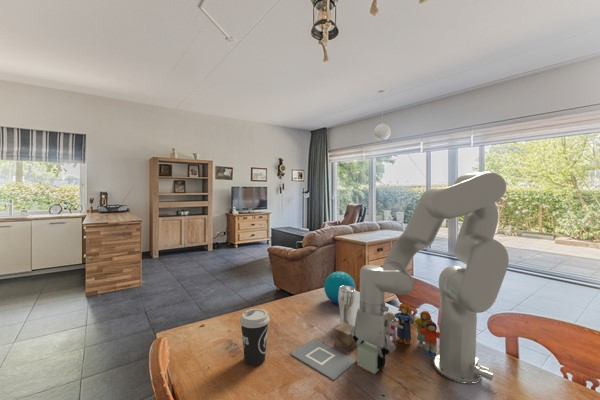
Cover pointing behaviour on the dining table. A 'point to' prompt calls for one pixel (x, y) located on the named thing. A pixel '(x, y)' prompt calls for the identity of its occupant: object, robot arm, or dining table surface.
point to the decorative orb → (337, 284)
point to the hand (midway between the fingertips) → (370, 361)
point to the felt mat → (323, 359)
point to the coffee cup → (254, 335)
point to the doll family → (423, 325)
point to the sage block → (368, 357)
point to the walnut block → (344, 337)
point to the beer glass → (347, 304)
